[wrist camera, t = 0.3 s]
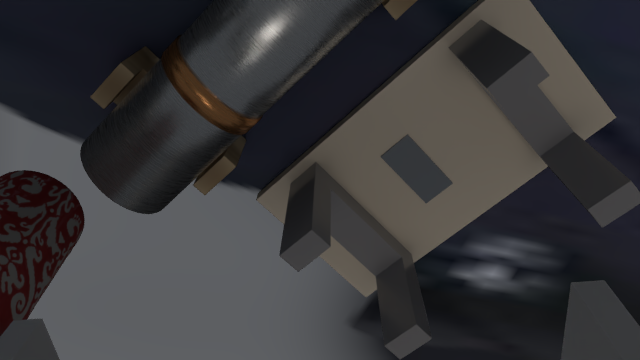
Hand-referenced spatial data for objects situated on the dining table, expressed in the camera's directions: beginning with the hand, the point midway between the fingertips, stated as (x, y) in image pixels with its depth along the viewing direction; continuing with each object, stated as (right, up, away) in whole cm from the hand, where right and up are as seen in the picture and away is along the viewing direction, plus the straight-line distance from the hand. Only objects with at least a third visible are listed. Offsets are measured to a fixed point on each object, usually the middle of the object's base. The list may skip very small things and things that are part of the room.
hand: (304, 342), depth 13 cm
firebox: (+8, +6, +24) cm, 26 cm away
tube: (-3, +13, +18) cm, 22 cm away
